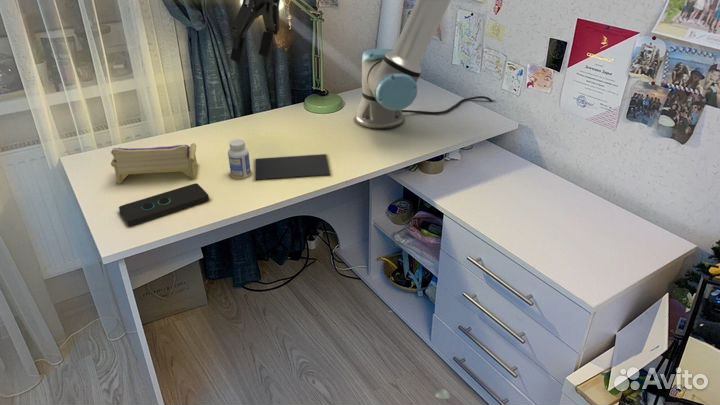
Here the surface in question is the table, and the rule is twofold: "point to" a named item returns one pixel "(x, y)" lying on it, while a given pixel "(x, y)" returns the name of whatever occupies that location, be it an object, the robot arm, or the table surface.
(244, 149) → the pill bottle
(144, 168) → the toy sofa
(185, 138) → the table surface
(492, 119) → the table surface
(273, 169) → the mat
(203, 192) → the smart home device
